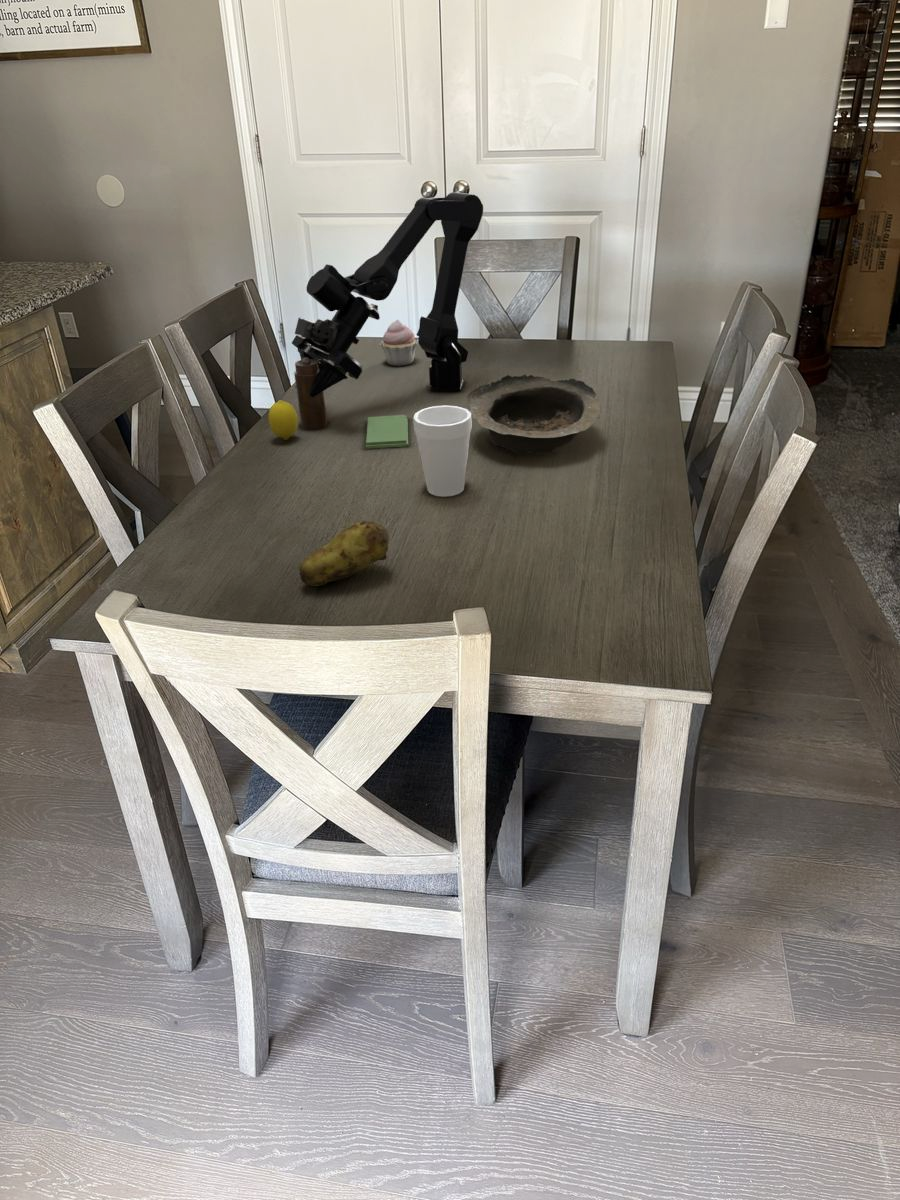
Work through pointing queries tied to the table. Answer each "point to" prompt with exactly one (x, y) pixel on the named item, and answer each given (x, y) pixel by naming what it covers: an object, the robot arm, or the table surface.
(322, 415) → the pepper mill
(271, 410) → the lemon
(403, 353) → the cupcake
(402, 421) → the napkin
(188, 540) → the table surface
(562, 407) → the stone bowl
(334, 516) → the table surface
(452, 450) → the foam cup
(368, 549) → the potato
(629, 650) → the table surface
